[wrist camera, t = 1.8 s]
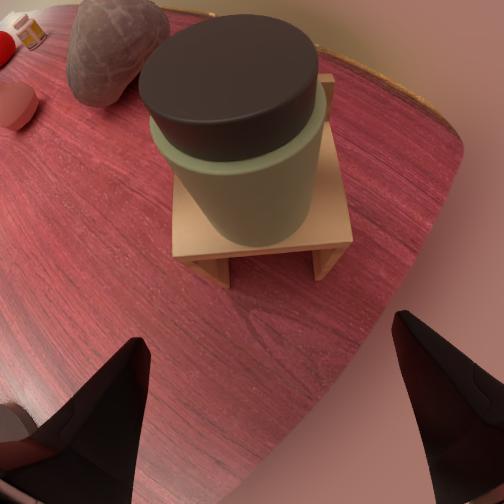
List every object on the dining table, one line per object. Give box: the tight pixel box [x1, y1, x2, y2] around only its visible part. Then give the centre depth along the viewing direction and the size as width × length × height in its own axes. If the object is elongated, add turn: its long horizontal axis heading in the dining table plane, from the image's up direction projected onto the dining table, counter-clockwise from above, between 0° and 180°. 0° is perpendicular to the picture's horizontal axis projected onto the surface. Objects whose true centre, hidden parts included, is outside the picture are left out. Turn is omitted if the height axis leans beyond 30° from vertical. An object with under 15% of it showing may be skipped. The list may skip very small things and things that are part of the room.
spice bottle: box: [139, 14, 326, 247], centre depth 10 cm, size 5×5×8 cm
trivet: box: [0, 403, 38, 442], centre depth 21 cm, size 9×9×2 cm
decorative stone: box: [66, 0, 170, 108], centre depth 24 cm, size 15×10×15 cm
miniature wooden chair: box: [172, 74, 353, 289], centre depth 18 cm, size 7×8×14 cm
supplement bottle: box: [13, 14, 46, 50], centre depth 38 cm, size 5×5×10 cm
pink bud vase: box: [0, 82, 39, 131], centre depth 28 cm, size 8×8×12 cm
